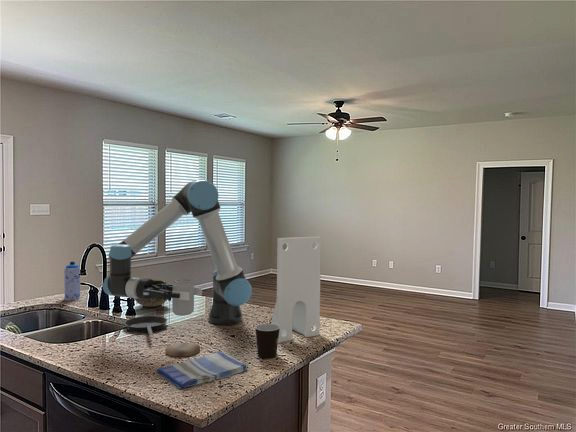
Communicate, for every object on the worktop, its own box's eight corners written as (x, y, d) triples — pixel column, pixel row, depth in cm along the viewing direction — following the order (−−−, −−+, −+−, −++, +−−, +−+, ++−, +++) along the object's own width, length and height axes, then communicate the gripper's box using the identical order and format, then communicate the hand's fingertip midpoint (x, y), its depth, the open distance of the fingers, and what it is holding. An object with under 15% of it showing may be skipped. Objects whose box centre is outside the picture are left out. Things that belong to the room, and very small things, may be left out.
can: (174, 317, 145) (175, 282, 145) (170, 312, 152) (170, 278, 152) (196, 314, 149) (196, 281, 149) (190, 309, 156) (191, 277, 155)
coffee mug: (270, 361, 142) (270, 332, 142) (249, 356, 146) (250, 328, 146) (288, 351, 152) (289, 324, 151) (268, 347, 156) (269, 320, 156)
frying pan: (165, 319, 191) (165, 311, 190) (175, 341, 161) (175, 332, 161) (122, 323, 184) (122, 315, 183) (125, 347, 154) (125, 337, 154)
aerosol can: (70, 296, 231) (70, 260, 231) (83, 297, 230) (83, 260, 230) (60, 300, 223) (60, 262, 223) (75, 300, 223) (74, 263, 222)
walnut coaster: (199, 344, 158) (199, 341, 158) (201, 355, 147) (201, 352, 147) (165, 346, 155) (165, 343, 155) (165, 358, 144) (165, 355, 144)
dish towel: (249, 372, 135) (249, 363, 135) (181, 393, 119) (181, 383, 119) (220, 356, 148) (220, 348, 148) (155, 373, 132) (155, 364, 132)
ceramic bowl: (133, 309, 218) (125, 281, 216) (166, 297, 227) (159, 270, 225) (144, 321, 197) (135, 290, 195) (180, 307, 206) (172, 278, 204)
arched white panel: (299, 325, 184) (301, 234, 183) (319, 334, 172) (321, 236, 171) (259, 332, 173) (260, 235, 172) (277, 342, 161) (278, 238, 160)
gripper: (158, 293, 166) (209, 298, 158) (122, 304, 147) (178, 311, 139) (158, 274, 166) (210, 278, 158) (122, 283, 147) (178, 288, 139)
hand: (195, 293), depth 149 cm, fingers closed on can, 7 cm apart
